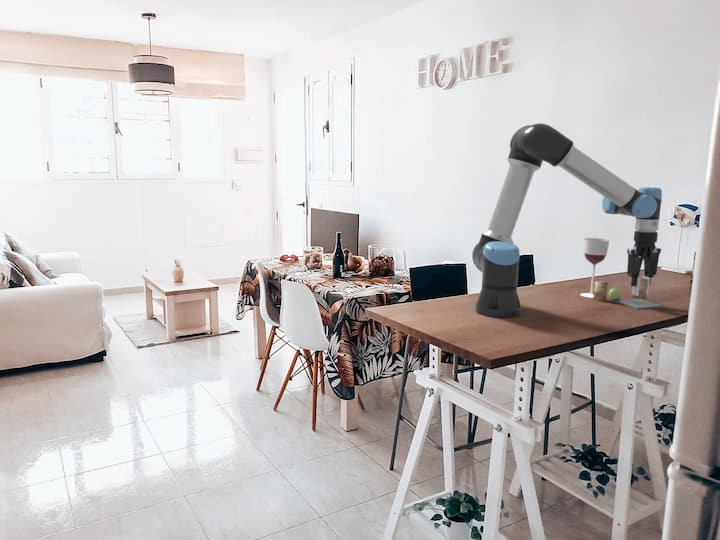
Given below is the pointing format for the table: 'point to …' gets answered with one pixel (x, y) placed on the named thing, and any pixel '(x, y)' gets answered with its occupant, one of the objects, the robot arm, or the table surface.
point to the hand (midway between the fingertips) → (639, 294)
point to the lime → (615, 293)
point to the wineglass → (594, 256)
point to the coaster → (638, 304)
